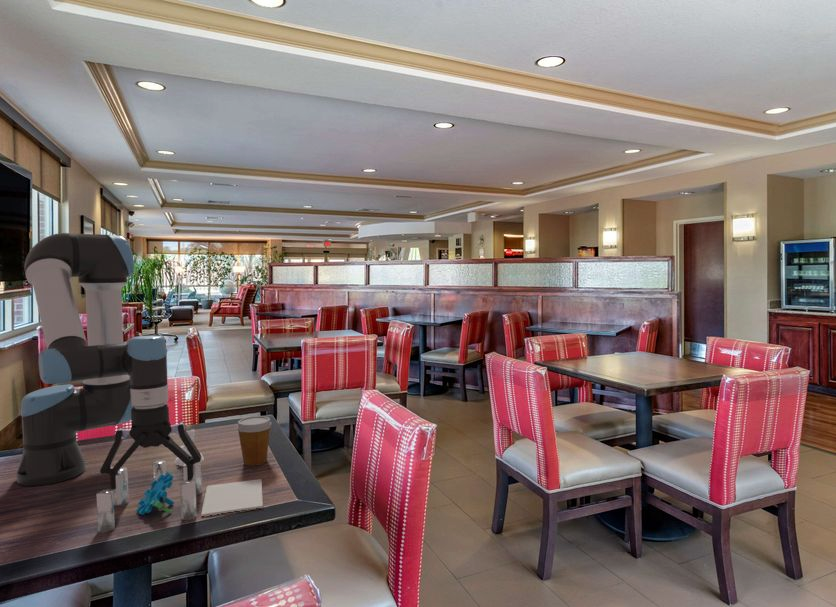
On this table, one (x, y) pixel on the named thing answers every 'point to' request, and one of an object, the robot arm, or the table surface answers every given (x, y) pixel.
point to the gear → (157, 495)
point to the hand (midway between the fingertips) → (154, 497)
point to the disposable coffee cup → (254, 439)
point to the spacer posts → (159, 468)
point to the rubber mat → (232, 497)
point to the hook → (191, 435)
